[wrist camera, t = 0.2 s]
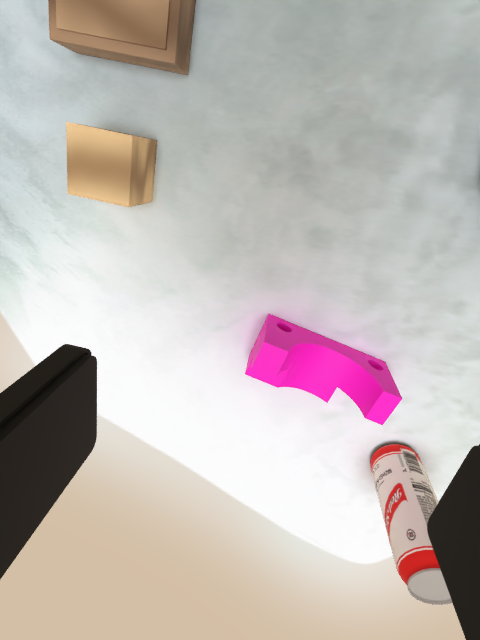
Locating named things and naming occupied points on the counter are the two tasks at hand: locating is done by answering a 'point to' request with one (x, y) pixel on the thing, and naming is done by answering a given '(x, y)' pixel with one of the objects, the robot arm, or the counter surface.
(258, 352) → the toy block
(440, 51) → the counter surface
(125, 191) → the oak cube
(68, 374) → the robot arm
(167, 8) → the copper tray
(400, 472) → the beer can
